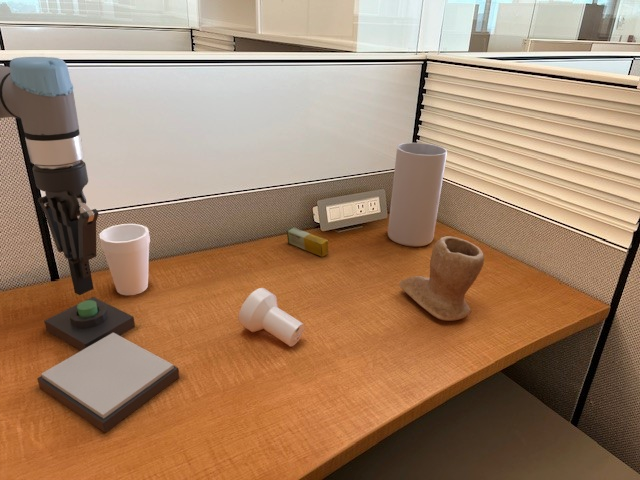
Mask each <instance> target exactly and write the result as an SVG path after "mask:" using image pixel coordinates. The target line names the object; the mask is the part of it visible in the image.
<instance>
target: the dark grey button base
mask: <svg viewBox="0 0 640 480" xmlns="http://www.w3.org/2000/svg"><path fill="white" fill-rule="evenodd" d="M87 300H92V301H95V302H96V304H97V309H98V312H97V314H95V315H93V316H90V317H80V316H79V314H78V309H77V305H78V304H79V303H77V304H74V305H73V306H71V307H68V308H67V309H65V310H62V311H61V312H59V313H57V314H54V315H52V316H51V317H49V318H46V319H44V326H45V329H46V332H47V333H49V334H51V335H53V336H54V337H55V338H58V339H60V340H61V341H63V342H64V343H66V344H68V345H70V346H71V347H73V348H75V349H76V350H78V351H79V352H80V351H82V350H83V349H85V348H87V347H89V346H90V345H92V344H94V343H96V342H97V341H99V340H101V339H103V338H104V337H106V336H108V335H110V334H111V333H115V334H117V335H119V336H121V337H122V335H124V334H126V333H127V332H129V331H131V330H133V329H134V328H136V325H135V318H134V316H133V315H131V314H129V313H127V312H125V311H123V310H121V309H119V308H117V307H115V306H113V305H111V304H109V303H107V302H105V301H103V300H101V299H99V298H97V297H94V296H92V297H89V298H88V299H86V300H84V301H87Z"/></svg>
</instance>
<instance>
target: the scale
mask: <svg viewBox="0 0 640 480" xmlns="http://www.w3.org/2000/svg"><path fill="white" fill-rule="evenodd" d="M179 378H180V371H179V367H178V366H176V365H174V364H173V363H171V362H170V361H168V360H166V359H164V358H163V357H160V356H158V355H157V354H155V353H153V352H151V351H149V350H147V349H145V348H144V347H142V346H139V345H138V344H136V343H134V342H132V341H130V340H128V339H126V338H125V337H123V336H122V335H121V336H119V335H117V334H115V333H111V334H110V335H108V336H106V337H104V338H103V339H101V340H99V341H97V342H96V343H94V344H92V345H90V346H89V347H87V348H85V349H83V350H82V351H80V350H79V351H78V352H76V353H75V354H72V355H71V356H69V357H68V358H65V359H64V360H62V361H61V362H59V363H57V364H55V365H54V366H52V367H50V368H49V369H47V370H45V371H43V372H41V373H40V376H39V377H37V378H36V380H37V383H38V387H39V389H41V390H42V391H43V392H44V393H46V394H47V395H49V396H50V397H52V398H53V399H55V400H56V401H58V402H59V403H61V404H62V405H63V406H65V407H66V408H68V409H69V410H71V411H72V412H74V413H75V414H77V415H78V416H79V417H80V418H82V419H84V420H85V421H87V422H88V423H90V424H91V425H93V426H94V427H95V428H97V429H98V430H100V431H101V432H103V433H104V434H106V433H107V432H109V431H110V430H111V429H112V428H114V427H115V426H117V425H118V424H119V423H120V422H122V421H123V420H124V419H126V418H127V417H128V416H130V415H131V414H133V413H134V412H135V411H136V410H138V409H140V407H142V406H144V405H145V404H146V403H147V402H148V401H150V400H151V399H153V398H154V397H155V396H157V395H158V394H159V393H160V392H162V391H163V390H164V389H166V388H167V387H168V386H170V385H171V384H172V383H174V382H176V381H177V380H178V379H179Z"/></svg>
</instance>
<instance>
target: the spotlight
mask: <svg viewBox="0 0 640 480" xmlns="http://www.w3.org/2000/svg"><path fill="white" fill-rule="evenodd" d="M277 297H278V296H276V295H275V294H274V293H272V292H270V291H269V290H267V289H266V288H264V287H260V288H257V289H255V290H254V291H252V292H251V293H250V294H249V295H248V296H247V297H246V299H245V300H244V302H243V303H242V305H241V307H240V309H239V312H238V317H237V318H238V319H237V321H238V324H239V325H241V326H242V327H243V328H245V329H246V330H248V331H250V332H251V333H256V332H258V331H262V330H264V331H266V332H267V333H269V334H271V335H272V336H274V337H275V338H276V339H278V340H279V341H281V342H283V343H284V344H286V345H287V346H288V347H294V346H295V345H296V344H297V343H298V342H299V341H300V340H301V337H302V336H303V334H304V332H305V328H306V325H305V323H303V322H302V321H300V320H298V319H297V318H295V317H293V316H292V315H290V314H289V313H287V312H286V311H284V310H283V309H281V308H279V306H278V299H277Z"/></svg>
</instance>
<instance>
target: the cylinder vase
mask: <svg viewBox="0 0 640 480" xmlns="http://www.w3.org/2000/svg"><path fill="white" fill-rule="evenodd" d="M447 154H448V150H447V149H446V148H445V147H442V146H439V145H436V144H431V143H424V142H404V143H400V144H398V145H397V146H396V156H395V162H394V171H393V180H392V190H391V198H390V208H389V216H388V226H387V236H388V238H389V239H390V240H391V241H392V242H394V243H396V244H399V245H401V246H405V247H414V248H415V247H416V248H417V247H424V246H428V245H430V244H431V243H432V242H433V240H434V237H435V231H436V225H437V224H436V223H437V219H438V218H437V217H438V213H439V205H440V201H441V200H440V199H441V193H442V186H443V180H444V174H445V168H446V160H447Z"/></svg>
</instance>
